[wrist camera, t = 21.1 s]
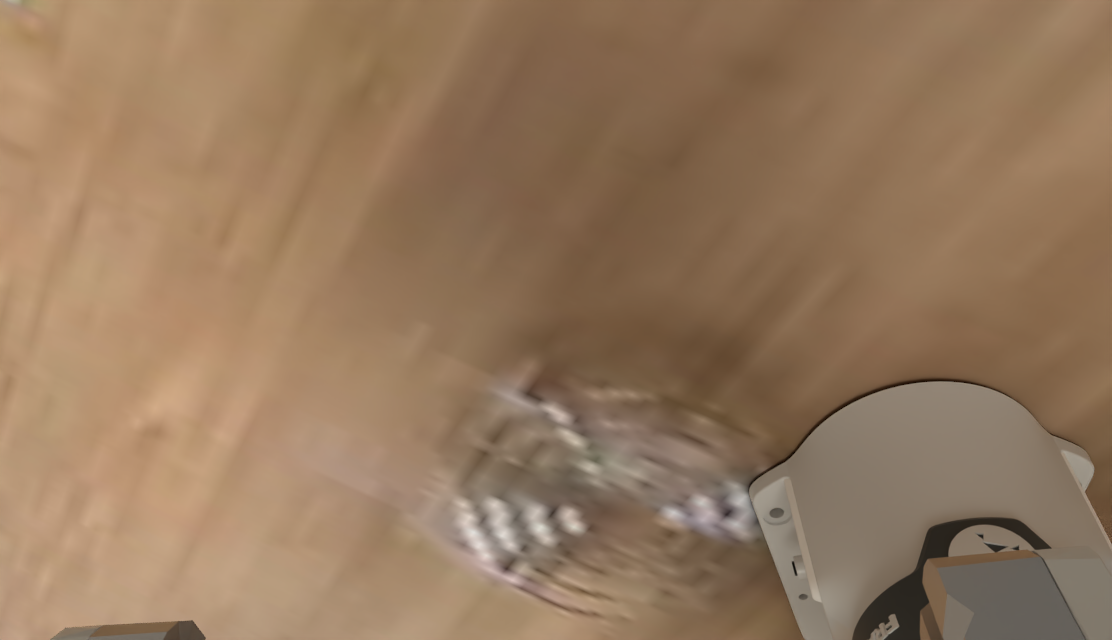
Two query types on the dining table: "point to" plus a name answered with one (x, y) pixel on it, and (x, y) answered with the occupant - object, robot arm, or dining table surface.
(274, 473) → the dining table surface
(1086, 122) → the dining table surface
